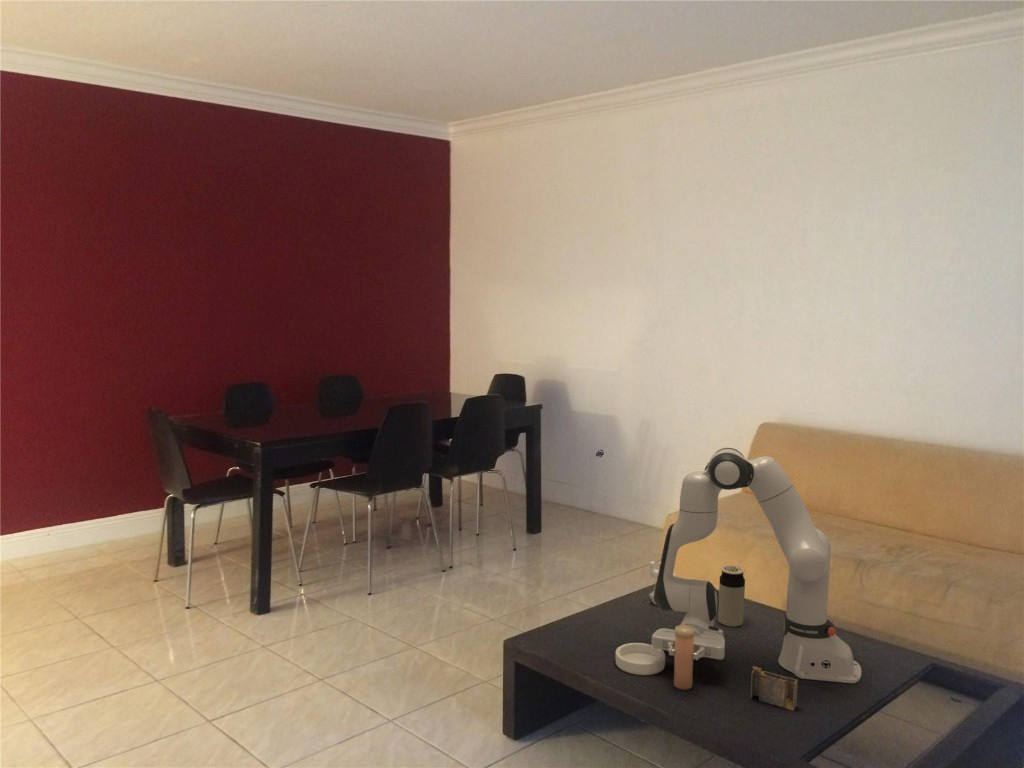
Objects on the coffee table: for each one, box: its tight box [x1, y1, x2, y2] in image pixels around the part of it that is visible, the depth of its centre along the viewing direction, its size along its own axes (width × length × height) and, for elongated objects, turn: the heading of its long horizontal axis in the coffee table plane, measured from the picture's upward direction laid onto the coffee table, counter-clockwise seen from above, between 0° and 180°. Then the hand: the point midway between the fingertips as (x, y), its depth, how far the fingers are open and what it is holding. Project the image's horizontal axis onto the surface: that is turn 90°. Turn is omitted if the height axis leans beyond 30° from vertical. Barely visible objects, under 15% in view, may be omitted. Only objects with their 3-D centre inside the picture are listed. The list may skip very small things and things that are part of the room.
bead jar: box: [673, 624, 694, 691], centre depth 228 cm, size 5×5×16 cm
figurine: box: [649, 560, 678, 606], centre depth 286 cm, size 7×9×15 cm
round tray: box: [615, 642, 666, 676], centre depth 241 cm, size 14×14×3 cm
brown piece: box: [750, 665, 799, 711], centre depth 219 cm, size 11×3×10 cm, turn 57°
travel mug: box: [717, 564, 746, 628], centre depth 270 cm, size 8×8×18 cm
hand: (683, 655), depth 227 cm, fingers closed on bead jar, 5 cm apart
